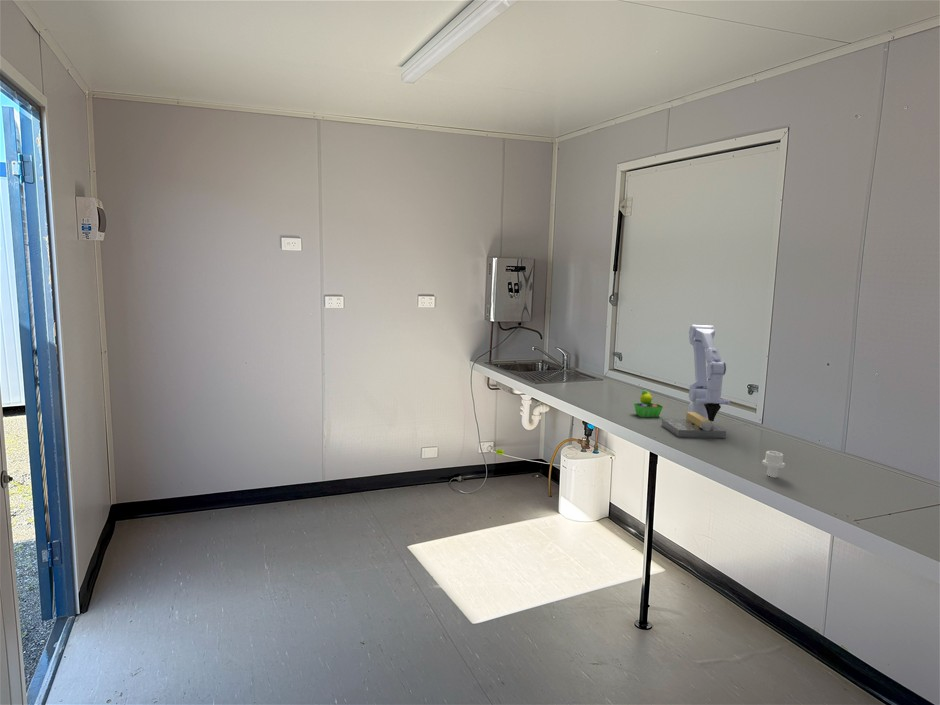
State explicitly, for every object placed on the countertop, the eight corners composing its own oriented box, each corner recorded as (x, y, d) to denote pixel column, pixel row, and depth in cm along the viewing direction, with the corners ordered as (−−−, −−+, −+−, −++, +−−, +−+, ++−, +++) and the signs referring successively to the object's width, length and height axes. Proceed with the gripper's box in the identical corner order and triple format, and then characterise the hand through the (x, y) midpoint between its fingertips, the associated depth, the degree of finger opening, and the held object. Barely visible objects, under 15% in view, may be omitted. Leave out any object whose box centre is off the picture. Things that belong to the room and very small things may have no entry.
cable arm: (713, 430, 256) (714, 422, 256) (703, 429, 256) (704, 422, 255) (694, 418, 274) (695, 412, 273) (685, 418, 273) (686, 411, 273)
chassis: (661, 425, 274) (662, 417, 274) (705, 426, 276) (706, 418, 275) (678, 437, 256) (679, 429, 255) (726, 438, 258) (727, 430, 257)
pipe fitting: (758, 475, 213) (761, 452, 212) (765, 471, 218) (768, 448, 217) (778, 480, 209) (781, 457, 207) (785, 476, 214) (788, 453, 213)
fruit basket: (640, 417, 286) (642, 393, 285) (631, 413, 295) (633, 389, 293) (662, 417, 289) (665, 393, 287) (653, 412, 297) (655, 389, 296)
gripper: (702, 391, 261) (699, 423, 263) (735, 391, 263) (731, 423, 265) (694, 387, 268) (691, 418, 270) (726, 388, 270) (723, 419, 272)
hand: (710, 420), depth 268 cm, fingers closed
